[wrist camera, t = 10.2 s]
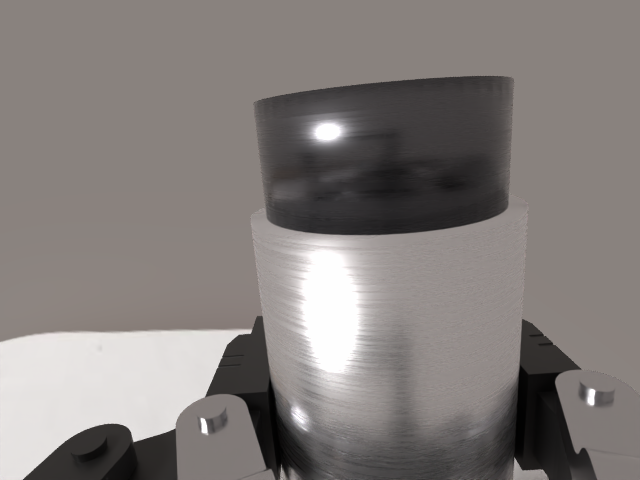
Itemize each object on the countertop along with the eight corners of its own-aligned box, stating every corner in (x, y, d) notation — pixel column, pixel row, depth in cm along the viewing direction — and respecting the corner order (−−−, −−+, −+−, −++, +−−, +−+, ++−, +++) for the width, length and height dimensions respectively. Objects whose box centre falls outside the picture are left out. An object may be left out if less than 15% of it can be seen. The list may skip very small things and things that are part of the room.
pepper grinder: (302, 796, 9) (197, 95, 5) (309, 556, 13) (258, 111, 10) (542, 784, 8) (618, 60, 5) (461, 546, 13) (468, 94, 10)
